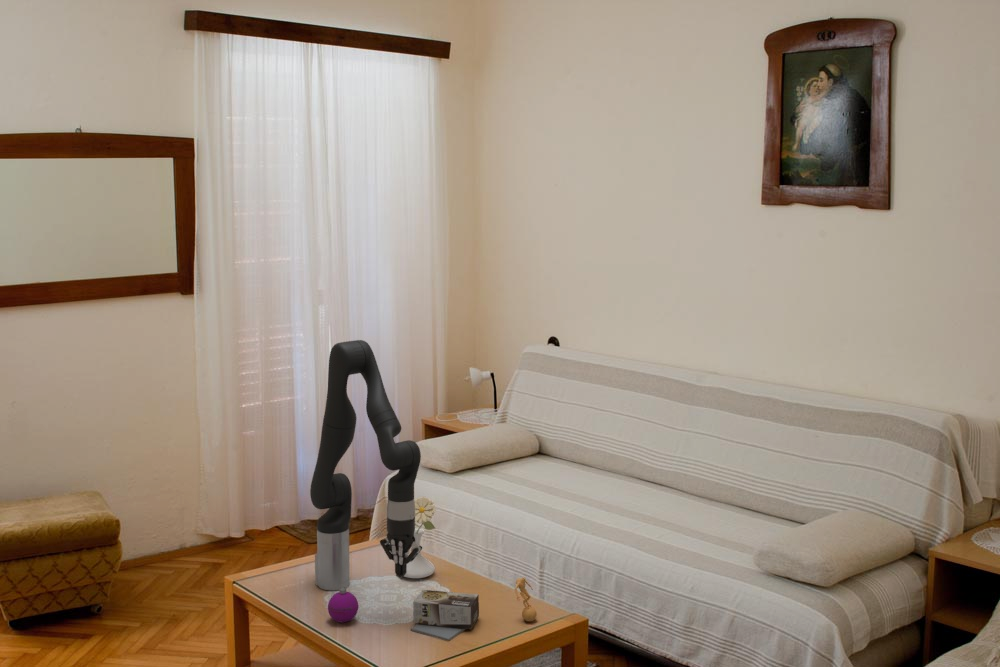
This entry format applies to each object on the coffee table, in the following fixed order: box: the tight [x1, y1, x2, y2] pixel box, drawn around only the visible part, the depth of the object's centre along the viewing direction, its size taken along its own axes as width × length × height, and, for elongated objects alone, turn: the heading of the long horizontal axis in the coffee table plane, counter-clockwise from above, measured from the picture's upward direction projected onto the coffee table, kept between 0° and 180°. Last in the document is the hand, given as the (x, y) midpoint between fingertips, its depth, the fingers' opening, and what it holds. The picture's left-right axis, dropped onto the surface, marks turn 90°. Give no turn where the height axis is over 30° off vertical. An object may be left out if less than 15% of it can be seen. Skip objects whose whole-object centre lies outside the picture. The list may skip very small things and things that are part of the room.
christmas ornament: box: [327, 586, 359, 623], centre depth 271 cm, size 8×8×10 cm
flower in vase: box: [403, 496, 436, 579], centre depth 302 cm, size 13×11×25 cm
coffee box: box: [412, 589, 480, 630], centre depth 271 cm, size 9×6×16 cm
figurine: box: [514, 576, 538, 623], centre depth 272 cm, size 8×6×12 cm
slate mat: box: [410, 623, 466, 642], centre depth 268 cm, size 12×11×1 cm
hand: (400, 575), depth 272 cm, fingers closed
